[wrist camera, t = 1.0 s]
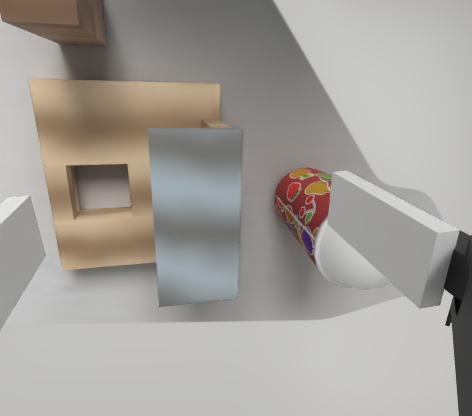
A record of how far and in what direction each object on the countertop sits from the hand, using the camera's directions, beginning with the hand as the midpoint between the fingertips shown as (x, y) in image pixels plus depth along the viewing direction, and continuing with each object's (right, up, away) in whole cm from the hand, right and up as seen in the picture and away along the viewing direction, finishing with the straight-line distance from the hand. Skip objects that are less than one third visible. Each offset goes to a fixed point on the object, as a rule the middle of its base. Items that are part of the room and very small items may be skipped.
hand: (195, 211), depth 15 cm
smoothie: (+9, +2, +25) cm, 27 cm away
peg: (-12, +17, +15) cm, 25 cm away
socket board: (-8, +4, +20) cm, 22 cm away
